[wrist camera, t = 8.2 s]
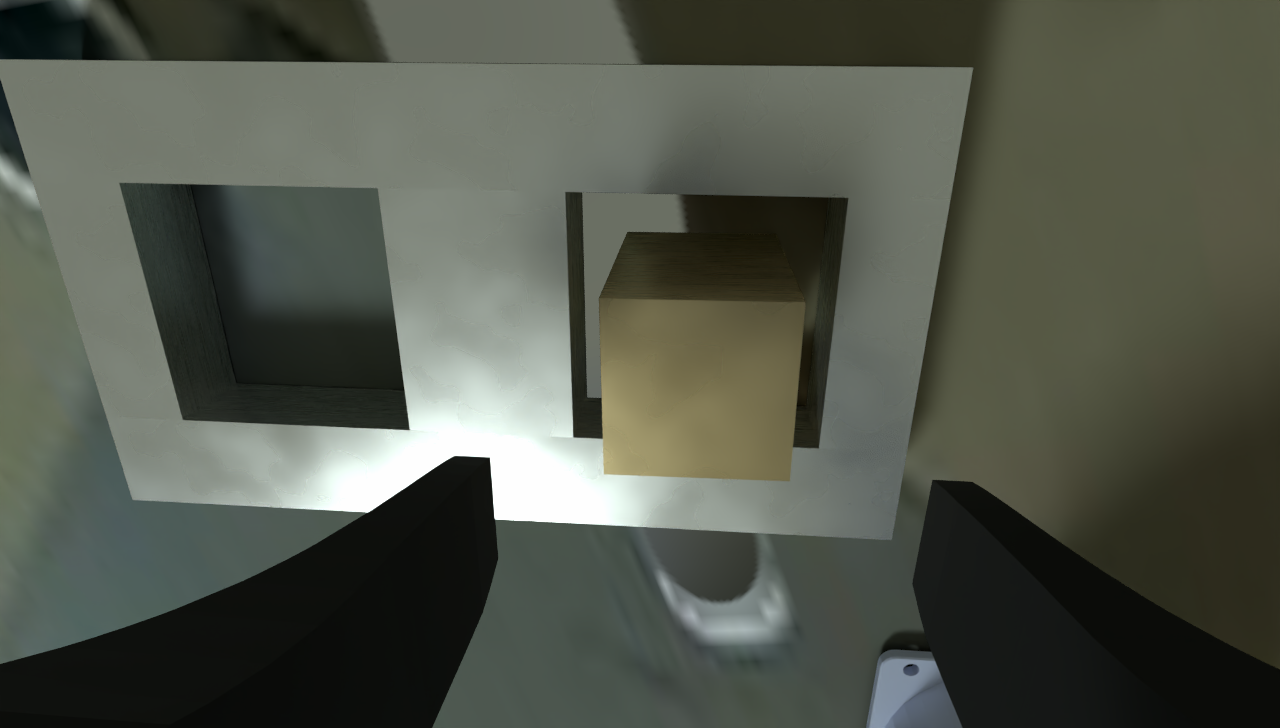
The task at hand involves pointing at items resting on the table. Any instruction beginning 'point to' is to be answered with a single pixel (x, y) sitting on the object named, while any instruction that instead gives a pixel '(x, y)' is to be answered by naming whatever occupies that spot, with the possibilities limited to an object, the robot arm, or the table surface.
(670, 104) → the grey flat rectangular plate
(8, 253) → the table surface
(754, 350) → the brass block
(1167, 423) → the table surface
